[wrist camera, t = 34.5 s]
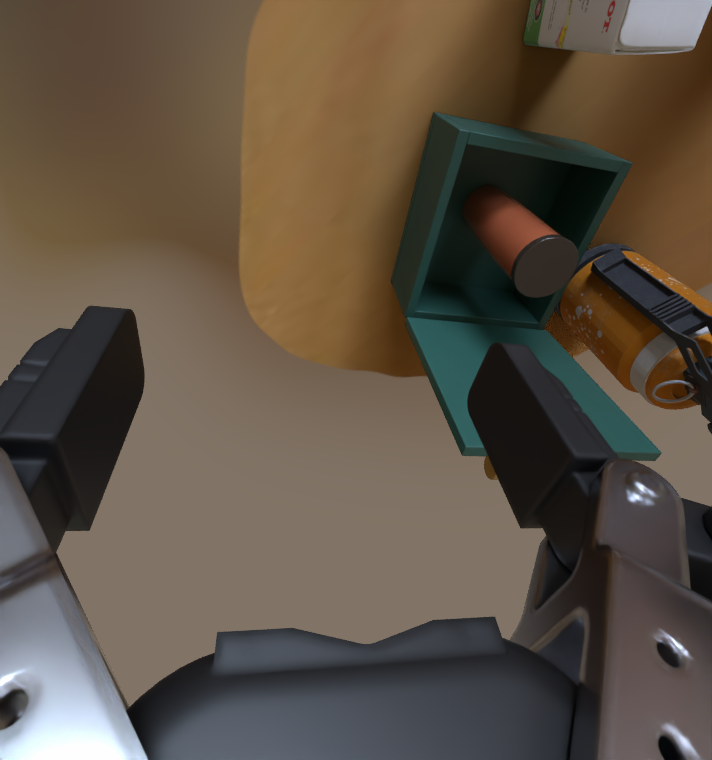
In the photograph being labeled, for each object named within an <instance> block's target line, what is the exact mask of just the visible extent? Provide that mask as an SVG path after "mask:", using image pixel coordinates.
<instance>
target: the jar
mask: <svg viewBox="0 0 712 760" xmlns="http://www.w3.org/2000/svg"><path fill="white" fill-rule="evenodd" d="M462 219H463V222H464V224H465V226H466V227H467V228H468V229H469V231H470V232H471V233H472V234H473V235H474V237H475V238H476V239H477V240H478V241H479V242H480V244H481V245H482V246H483V247H484V248H485V250H486V251H487V252H488V253H489V254H490V255H491V257H492V258H493V259H494V260H495V261H496V263H497V264H498V265H499V266H500V267H501V268H502V270H503V271H504V272H505V273H506V274H507V276H508V277H509V278H510V279H511V280H512V282H513V284H514V286H515V287H516V289H517V290H518V291H519V292H520V293H521V294H523V295H525V296H527V297H532V298H540V297H545V296H548V295H550V294H553V293H554V292H556V291H558V290H559V289H561V288H562V287H563V286H564V285H565V284H566V283H567V282H568V281H569V280H570V279H571V277H572V276H573V274H574V273H575V270H576V268H577V265H578V259H579V256H578V250H577V248H576V246H575V245H574V243H573V242H571V241H570V240H569V239H568V238H566V237H564V236H562V235H560V234H559V233H557V232H556V231H555V230H554V229H552V228H551V227H550V226H549V225H547V224H546V223H545V222H544V221H542V220H541V219H540V218H539V217H537V216H536V215H535V214H534V213H532V212H531V211H530V210H529V209H527V208H526V207H525V206H524V205H522V204H521V203H520V202H519V201H517V200H516V199H515V198H514V197H512V196H511V195H510V194H509V193H507V192H506V191H505V190H504V189H502V188H501V187H499V186H497V185H484V186H481V187H479V188H478V189H476V190H475V191H473V192H472V193H471V194H470V195H469V197H468V198H467V199H466V201H465V203H464V206H463V210H462Z"/></svg>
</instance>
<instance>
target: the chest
mask: <svg viewBox="0 0 712 760" xmlns="http://www.w3.org/2000/svg"><path fill="white" fill-rule="evenodd" d="M632 164H633V163H632V162H629V161H627V160H625V159H622V158H620V157H618V156H615V155H613V154H611V153H608V152H606V151H603V150H601V149H599V148H596V147H594V146H592V145H589V144H587V143H585V142H580V141H575V140H570V139H565V138H560V137H555V136H550V135H545V134H540V133H535V132H530V131H525V130H520V129H515V128H510V127H505V126H500V125H496V124H491V123H486V122H481V121H476V120H471V119H466V118H461V117H456V116H451V115H446V114H441V113H436V112H433V116H432V120H431V124H430V128H429V132H428V136H427V140H426V144H425V148H424V152H423V155H422V159H421V163H420V167H419V171H418V175H417V179H416V183H415V187H414V191H413V195H412V199H411V203H410V207H409V211H408V215H407V219H406V223H405V227H404V231H403V235H402V239H401V243H400V247H399V251H398V255H397V259H396V263H395V267H394V271H393V275H392V279H391V283H392V285H393V288H394V291H395V293H396V296H397V298H398V301H399V304H400V306H401V309H402V311H403V314H404V317H405V318H407V317H411V318H421V319H431V320H442V321H452V322H463V323H473V324H483V325H494V326H504V327H515V328H525V329H536V330H544V328H545V326H546V324H547V323H548V321H549V319H550V317H551V315H552V313H553V311H554V310H555V308H556V306H557V304H558V302H559V300H560V298H561V296H562V295H563V293H564V291H565V289H566V287H567V285H568V283H569V282H570V280H571V279H570V280H569V281H568V282H567V283H566V284H565V285H564V286H563V287H562V288H561V289H559V290H558V291H556V292H554V293H553V294H550V295H548V296H545V297H540V298H532V297H527V296H525V295H523V294H521V293H520V292H519V291H518V290H517V289H516V287H515V286H514V284H513V282H512V280H511V279H510V278H509V277H508V276H507V274H506V273H505V272H504V271H503V270H502V268H501V267H500V266H499V265H498V264H497V263H496V261H495V260H494V259H493V258H492V257H491V255H490V254H489V253H488V252H487V251H486V250H485V248H484V247H483V246H482V245H481V244H480V242H479V241H478V240H477V239H476V238H475V237H474V235H473V234H472V233H471V232H470V231H469V229H468V228H467V227H466V226H465V224H464V222H463V219H462V210H463V206H464V203H465V201H466V199H467V198H468V197H469V195H470V194H471V193H472V192H473V191H475V190H476V189H478V188H479V187H481V186H484V185H497V186H499V187H501V188H502V189H504V190H505V191H506V192H507V193H509V194H510V195H511V196H512V197H514V198H515V199H516V200H517V201H519V202H520V203H521V204H522V205H524V206H525V207H526V208H527V209H529V210H530V211H531V212H532V213H534V214H535V215H536V216H537V217H539V218H540V219H541V220H542V221H544V222H545V223H546V224H547V225H549V226H550V227H551V228H552V229H554V230H555V231H556V232H557V233H559V234H560V235H562V236H564V237H566V238H568V239H569V240H570V241H571V242H573V243H574V245H575V246H576V248H577V250H578V256H579V259H578V265H579V263H580V261H581V259H582V257H583V255H584V254H585V252H586V250H587V248H588V246H589V244H590V242H591V241H592V239H593V237H594V235H595V233H596V231H597V229H598V228H599V226H600V224H601V222H602V220H603V218H604V216H605V214H606V213H607V211H608V209H609V207H610V205H611V203H612V201H613V200H614V198H615V196H616V194H617V192H618V190H619V188H620V187H621V185H622V183H623V181H624V179H625V177H626V175H627V173H628V172H629V170H630V168H631V166H632ZM578 265H577V267H578ZM576 269H577V268H576ZM571 278H572V277H571Z"/></svg>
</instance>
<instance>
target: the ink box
mask: <svg viewBox="0 0 712 760" xmlns="http://www.w3.org/2000/svg"><path fill="white" fill-rule="evenodd" d="M711 6H712V0H531V2H530V7H529V12H528V18H527V23H526V27H525V33H524V38H523V42H524V44H525V45H530V46H540V47H549V48H558V49H567V50H575V51H584V52H592V53H601V54H610V55H646V54H669V53H679V52H687V51H691V50H693V49H694V47H695V45H696V42H697V40H698V37H699V35H700V33H701V30H702V28H703V25H704V23H705V20H706V18H707V15H708V13H709V11H710V8H711Z"/></svg>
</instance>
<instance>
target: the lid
mask: <svg viewBox="0 0 712 760" xmlns="http://www.w3.org/2000/svg"><path fill="white" fill-rule="evenodd" d="M405 326H406V328H407V330H408V333H409V335H410V337H411V340H412V342H413V344H414V346H415V349H416V351H417V353H418V356H419V358H420V360H421V363H422V365H423V367H424V369H425V372H426V374H427V376H428V378H429V381H430V383H431V385H432V388H433V390H434V392H435V395H436V397H437V399H438V401H439V404H440V406H441V408H442V411H443V413H444V415H445V418H446V420H447V422H448V424H449V427H450V429H451V431H452V434H453V436H454V438H455V440H456V443H457V445H458V447H459V450H460V452H461V454H462V456H486V458H485V461H484V469H485V473H486V475H487V477H488V478H489V479H491V480H498V477H497V475H496V473H495V471H494V468H493V466H492V464H491V462H490V460H489V457H488V455H487V453H486V451H485V449H484V446H483V444H482V442H481V440H480V438H479V435H478V433H477V431H476V429H475V427H474V424H473V422H472V420H471V418H470V415H469V412H468V407H467V399H468V393H469V390H470V388H471V386H472V383H473V381H474V379H475V377H476V375H477V372H478V370H479V368H480V366H481V364H482V361H483V359H484V357H485V355H486V353H487V351H488V349H489V347H490V346H491V345H492V344H493V343H496V342H498V343H510V344H521V345H526V346H528V347H529V348H530V349H531V351H532V352H533V353H534V355H535V356H536V358H537V359H538V360H539V362H540V363H541V364H542V366H543V367H545V368H546V369H547V370H548V371H550V372H551V373H552V374H553V375H555V376H556V377H557V378H558V379H560V380H561V381H562V382H563V384H564V385H565V386H566V388H567V389H568V390H569V392H570V393H571V394H572V396H573V400H576V401H577V403H578V404H579V405H580V407H581V408H582V409H583V410H582V412H583V413H586V415H587V416H588V417H589V419H590V420H591V421H592V423H593V424H594V425H595V427H596V428H597V429H598V431H599V432H600V433H601V435H602V436H603V437H604V439H605V440H606V441H607V443H608V444H609V445H610V447H611V448H612V449H613V451H614V452H615V453H616V455H617V456H618V457H619V459H628V460H637V461H638V460H639V461H655V460H656V459H657V458H658V457H659V456H660V455H661V452H660V450H658V448H657V447H656V446H655V445H654V444H653V443H652V442H651V441H650V440H649V439H648V438H647V437H646V436H645V434H643V432H642V431H641V430H640V429H639V428H638V427H637V426H636V425H635V424H634V423H633V422H632V421H631V420H630V418H629V417H628V416H627V415H626V414H625V413H624V412H623V411H622V410H621V409H620V408H619V407H618V406H617V405H616V404H615V403H614V402H613V400H611V398H610V397H609V396H608V395H607V394H606V393H605V392H604V391H603V390H602V389H601V388H600V387H599V386H598V384H597V383H596V382H595V381H594V380H593V379H592V378H591V377H590V376H589V375H588V374H587V373H586V372H585V371H584V369H583V368H582V367H581V366H580V365H579V364H578V363H577V362H576V361H575V360H574V359H573V358H572V357H571V356H570V355H569V354H568V352H567V351H566V350H565V349H564V348H563V347H562V346H561V345H560V344H559V343H558V342H557V341H556V340H555V339H554V338H553V336H552V335H551V334H550V333H549V332H548V331H546V330H536V329H525V328H515V327H504V326H494V325H483V324H473V323H463V322H452V321H442V320H431V319H421V318H411V317H407V319H406V323H405Z"/></svg>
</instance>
